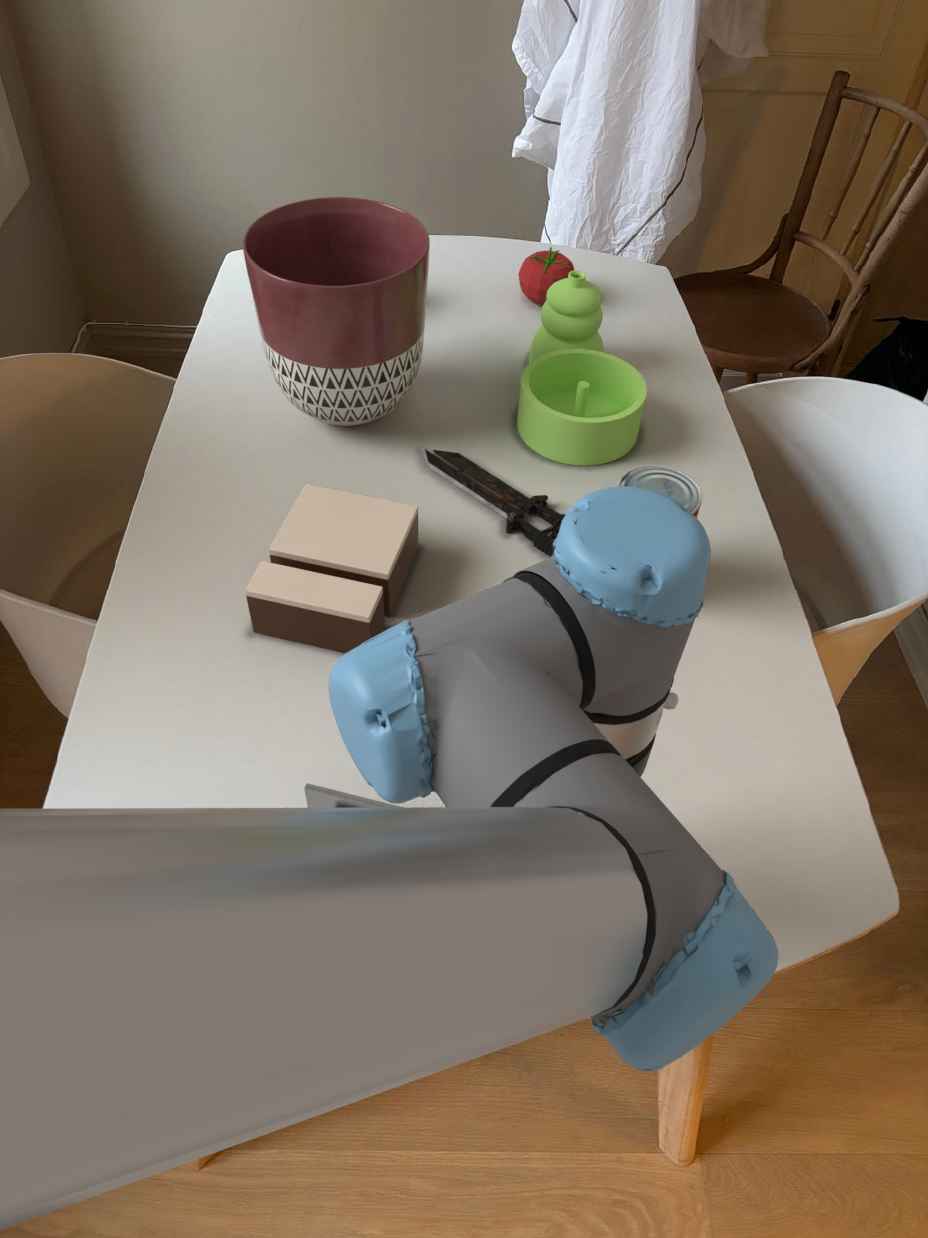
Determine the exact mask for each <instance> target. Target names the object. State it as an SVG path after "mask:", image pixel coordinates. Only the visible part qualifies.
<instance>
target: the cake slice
mask: <svg viewBox="0 0 928 1238" xmlns="http://www.w3.org/2000/svg"><path fill="white" fill-rule="evenodd" d="M244 593H245V596H246V601H247V607H248V612H249V617H250V622H251V627H252V631H253V633H255V634H260V635H263V636H268V637H272V638H278V639H281V640H284V641H285V640H286V641H290V642H294V643H299V644H304V645H307V646H312V647H318V648H322V649H326V650H330V651H335V652H338V653H342V654H345V653H347V652H349V651H351V650H352V649H354V648H356V647H358V646H360V645H361V644H362V643H364V642H365V641H367V640H369V639H371V638H373V637H375V636H377V635H378V634H380V633H382V632H384V631H385V628H386V627H385V615H384V602H383V587H381V586H377V585H372V584H367V583H363V582H358V581H353V580H349V579H344V578H339V577H335V576H330V575H325V574H321V573H316V572H311V571H307V570H302V569H297V568H293V567H288V566H284V565H279V564H274V563H271V561H265V560H261V561H260V563H259V565H258V566H257V568H256V570H255V572H254V573H253V576H252V577H251V578H250V580H249V583H248V584H247V586H246V587H245V589H244Z"/></svg>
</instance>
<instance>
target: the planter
mask: <svg viewBox="0 0 928 1238" xmlns="http://www.w3.org/2000/svg"><path fill="white" fill-rule="evenodd" d="M430 244H431V243H430V236H429V233H428V231H427V229H426V227H425V226H424V224H423V223H422V222H421V221H420V220H419V219H418V218H416V216H414V215H412V214H411V213H409V212H408V211H406V210H404V209H401V208H400V207H397V206H394V205H392V204H389V203H385V202H382V201H378V200H373V199H367V198H362V197H350V196H348V197H347V196H328V197H315V198H308V199H303V200H298V201H294V202H290V203H288V204H287V203H286V204H284V205H281V206H279V207H276V208H274V209H272V210H269V211H268V212H266V213H264V214H263V215H261V216H259V217H258V218H257V219H255V220H254V221H253V222H252V223H251V224H250V225H249V227H248V228H247V229H246V231H245V233H244V235H243V238H242V252H243V258H244V262H245V268H246V273H247V277H248V282H249V286H250V291H251V295H252V300H253V305H254V309H255V315H256V320H257V324H258V328H259V334H260V338H261V342H262V347H263V351H264V356H265V358H266V362H267V365H268V368H269V370H270V372H271V374H272V377H273V379H274V381H275V383H276V385H277V386H278V388H279V390H280V391H281V393H282V394H283V396H284V397H285V398H286V399H287V400H288V401H289V402H290V403H291V404H292V406H294V407H295V408H297V410H299V411H300V412H302V413H304V414H305V415H307V416H308V417H310V418H312V419H314V420H317V421H318V422H322V423H325V424H329V425H333V426H339V427H340V426H341V427H352V426H354V427H355V426H361V425H365V424H368V423H371V422H373V421H377V420H378V419H380V418H382V417H384V416H386V415H387V414H389V413H390V412H392V411H393V410H394V409H395V408H397V407H398V406H399V404H401V403H402V402H403V400H405V398H406V397H407V395H408V394H409V393H410V392H411V389H412V387H413V386H414V383H415V382H416V378H417V376H418V373H419V370H420V366H421V363H422V357H423V350H424V343H425V331H426V330H425V328H426V316H427V314H426V313H427V299H428V283H429V281H428V280H429V270H430V269H429V268H430V249H431V248H430V246H431V245H430Z"/></svg>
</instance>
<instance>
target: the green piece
mask: <svg viewBox="0 0 928 1238" xmlns="http://www.w3.org/2000/svg"><path fill="white" fill-rule="evenodd" d="M574 270H575V269H574ZM586 277H587V274H586V273H585V272H584V271H582V270H575V271H571V272H569V274H568V278H565V279H562V280H559V281H557V282H555V283H554V284H552V286H551V287H550V288H549V289H548V291H547V297H546V299H547V300H546V302H545V303H544V305H542V308H541V310H540V311H541V312H540V319H541V320H540V321H541V323H542V325H541V326H540V327H539V328H538V329H537V331H536V332H535V334H534V336H533V337H532V340H531V345H530V347H529V348H530V350H529V359H528V364H527V365H526V366H525V368H524V370H523V371H522V374H521V378H520V386H519V398H518V408H517V419H516V426H517V427H516V428H517V432H518V434H519V436H520V438H521V439H522V440H523V442H524V443H525V445H526V446H528V447H529V448H530V450H532V451H534V452H535V453H536V454H538V455H540V456H542V457H543V458H546V459H548V460H550V461H553V462H557V463H561V464H564V465H571V466H582V467H583V466H586V467H587V466H588V467H589V466H590V467H591V466H597V465H598V466H599V465H604V464H607V463H611V462H614V461H616V460H619V459H620V458H622V457H624V456H625V455H626V454H628V453H629V452H630V451H631V450H632V449H633V447H634V446H635V444H636V442H637V441H638V436H639V431H640V427H641V422H642V419H643V413H644V407H645V403H646V399H647V392H648V389H647V385H646V381H645V379H644V378H643V376H642V374H641V373H640V372H639V371H638V370H637V369H636V368H635V367H634V366H633V365H631V364H630V363H628V362H627V361H626V360H624V359H621V358H620V357H617V356H615V355H612V354H610V353H606V352H605V349H604V343H603V338H602V337H601V334H600V332H599V330H600V328H601V326H602V324H603V323H602V322H603V317H604V316H603V315H604V314H603V309H602V306H601V305H602V300H603V296H602V293H601V291H600V289H599V287H597V285H595V284H594V283H593V282H591V281H589V280H587V279H586Z"/></svg>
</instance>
